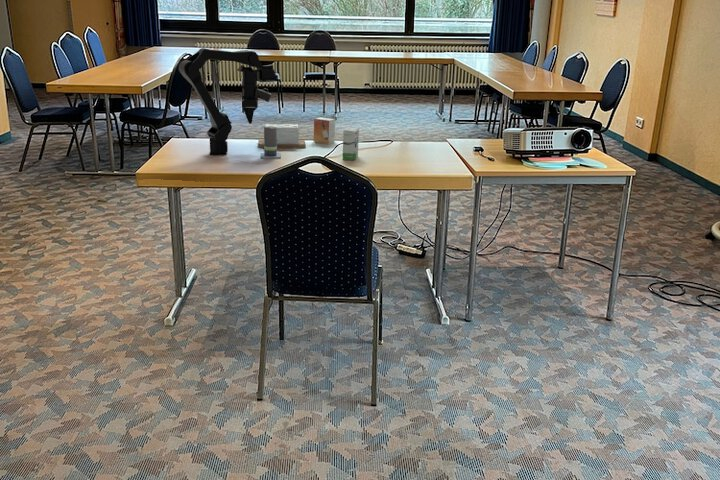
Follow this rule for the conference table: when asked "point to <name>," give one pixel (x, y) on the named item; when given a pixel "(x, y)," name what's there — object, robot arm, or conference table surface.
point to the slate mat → (271, 156)
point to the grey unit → (286, 136)
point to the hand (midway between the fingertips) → (250, 121)
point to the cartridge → (270, 141)
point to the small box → (324, 130)
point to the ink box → (350, 143)
